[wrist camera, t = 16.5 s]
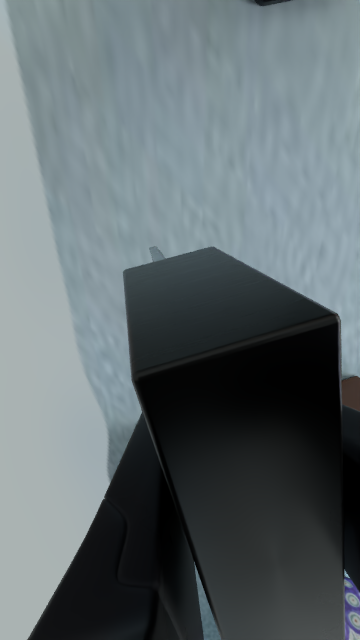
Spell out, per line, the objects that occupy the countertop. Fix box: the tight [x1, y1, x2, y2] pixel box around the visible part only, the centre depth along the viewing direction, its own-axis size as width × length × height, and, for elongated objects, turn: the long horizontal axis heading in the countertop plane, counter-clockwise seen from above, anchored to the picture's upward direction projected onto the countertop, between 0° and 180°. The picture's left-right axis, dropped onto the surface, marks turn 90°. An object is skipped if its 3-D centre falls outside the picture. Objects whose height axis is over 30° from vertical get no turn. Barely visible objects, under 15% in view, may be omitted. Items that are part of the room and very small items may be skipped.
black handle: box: [123, 246, 345, 640], centre depth 9 cm, size 2×8×10 cm, turn 13°
